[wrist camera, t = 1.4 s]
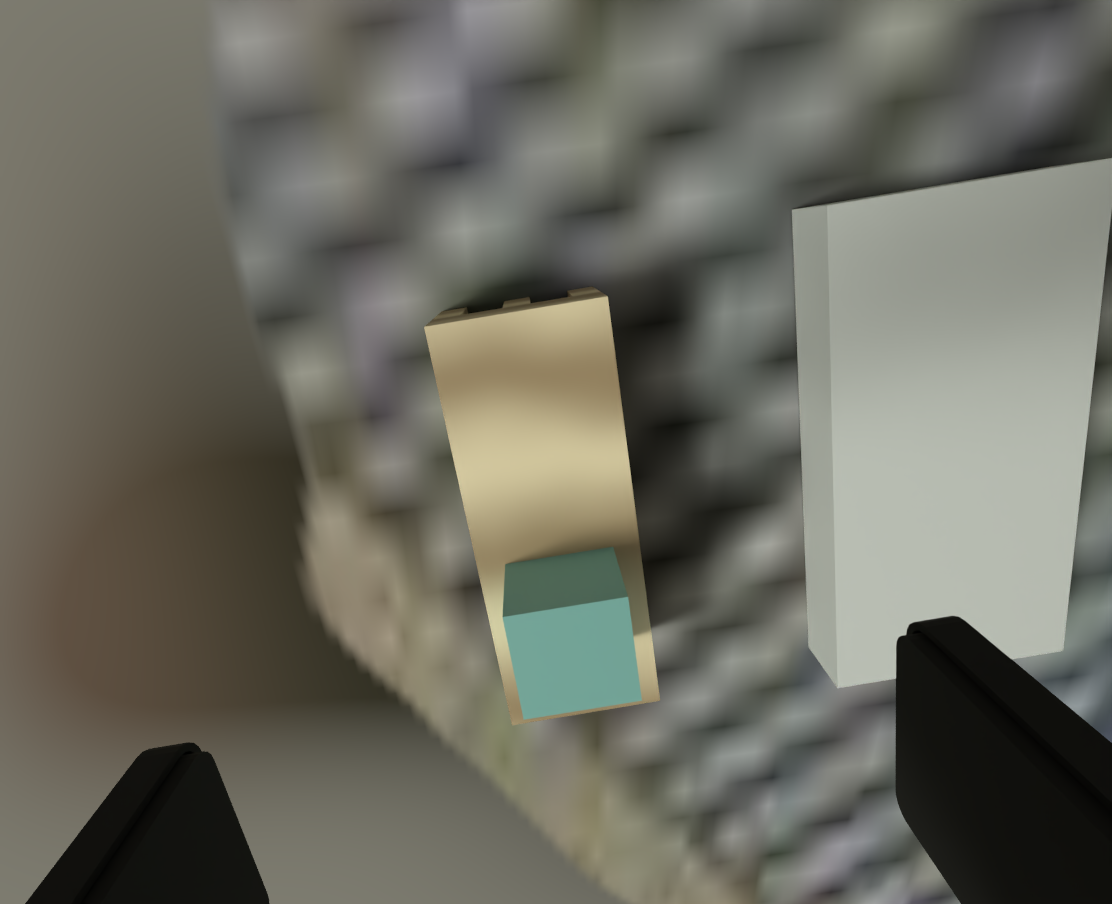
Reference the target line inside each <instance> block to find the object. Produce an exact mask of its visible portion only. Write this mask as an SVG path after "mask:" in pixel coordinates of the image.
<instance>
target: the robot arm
mask: <svg viewBox="0 0 1112 904" xmlns="http://www.w3.org/2000/svg"><path fill="white" fill-rule="evenodd" d="M896 797H897V801H898V804H899V807H900V810H901V812H902V814H903V817H904V819H905V820H906V822H907V824H908V825H909V827H910V828H911V830H912V831H913V833H914V834H915V836H916V837H917V839H918V840H919V842H920V843H921V845H922V846H923V848H924V849H925V851H926V852H927V854H928V855H929V857H930V858H931V860H932V861H933V862H934V864H935V865H936V867H937V868H938V870H939V871H940V873H941V874H942V876H943V877H944V879H945V880H946V882H947V883H948V885H949V886H950V888H951V889H952V891H953V892H954V894H955V895H956V897H957V898H958V900H959V901H960V903H961V904H1112V743H1111V742H1110V741H1108V740H1107V739H1106V738H1105V737H1104V736H1103V735H1101V734H1100V733H1099V732H1098V731H1097V730H1095V729H1094V728H1093V727H1092V726H1091V725H1089V724H1088V723H1087V722H1086V721H1085V720H1083V719H1082V718H1081V717H1080V716H1079V715H1077V714H1076V713H1075V712H1074V711H1073V710H1071V709H1070V708H1069V707H1068V706H1067V705H1065V704H1064V703H1063V702H1062V701H1061V700H1059V699H1058V698H1057V697H1056V696H1055V695H1053V694H1052V693H1051V692H1050V691H1049V690H1047V689H1046V688H1045V687H1044V686H1043V685H1041V684H1040V683H1039V682H1038V681H1037V680H1036V679H1034V678H1033V677H1032V676H1031V675H1030V674H1028V673H1027V672H1026V671H1025V670H1024V669H1022V668H1021V667H1020V666H1019V665H1018V664H1016V663H1015V662H1014V661H1013V660H1012V659H1010V658H1009V657H1008V656H1007V655H1006V654H1004V653H1003V652H1002V651H1001V650H1000V649H998V648H997V647H996V646H995V645H994V644H992V643H991V642H990V641H989V640H988V639H986V638H985V637H984V636H983V635H982V634H980V633H979V632H978V631H977V630H976V629H974V628H973V627H972V626H971V625H970V624H969V623H967V622H966V621H965V620H963V619H962V618H960V617H958V616H948V617H942V618H936V619H930V620H924V621H918V622H913V623H911V624H909V626H908V628H907V633H906V635H903V636H900V637H899V638H898V640H897V644H896ZM25 904H269V898H268V894H267V891H266V889H265V886H264V884H263V881H262V879H261V876H260V874H259V871H258V869H257V866H256V864H255V862H254V859H253V856H252V854H251V851H250V849H249V846H248V844H247V841H246V839H245V836H244V834H243V831H242V829H241V826H240V824H239V821H238V819H237V816H236V813H235V811H234V808H233V806H232V803H231V801H230V798H229V796H228V793H227V791H226V788H225V786H224V783H223V781H222V778H221V776H220V773H219V771H218V768H217V766H216V763H215V761H214V759H213V757H212V755H211V754H210V753H208V752H202V751H201V750H200V748H199V746H197V745H196V744H195V743H182V744H176V745H170V746H164V747H158V748H152V749H148V750H146V751H144V752H142V753H141V754H140V755H139V756H138V757H137V758H136V759H135V761H134V762H133V763H132V765H131V766H130V767H129V768H128V770H127V771H126V772H125V774H124V775H123V777H122V778H121V779H120V780H119V782H118V783H117V784H116V785H115V787H114V788H113V789H112V791H111V792H110V793H109V795H108V796H107V797H106V799H105V800H104V801H103V803H102V804H101V805H100V807H99V808H98V809H97V810H96V812H95V813H94V814H93V816H92V817H91V818H90V820H89V821H88V822H87V824H86V825H85V826H84V827H83V829H82V830H81V831H80V833H79V834H78V835H77V837H76V838H75V839H74V841H73V842H72V843H71V844H70V846H69V847H68V848H67V850H66V851H65V852H64V854H63V855H62V856H61V858H60V859H59V860H58V861H57V863H56V864H55V865H54V867H53V868H52V869H51V871H50V872H49V873H48V875H47V876H46V877H45V879H44V880H43V881H42V882H41V884H40V885H39V886H38V888H37V889H36V890H35V892H34V893H33V894H32V896H31V897H30V898H29V900H28V901H27V902H26V903H25Z"/></svg>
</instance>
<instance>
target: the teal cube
mask: <svg viewBox="0 0 1112 904" xmlns="http://www.w3.org/2000/svg"><path fill="white" fill-rule="evenodd" d="M502 617H503V622H504V627H505V632H506V637H507V642H508V646H509V651H510V656H511V661H512V666H513V671H514V675H515V680H516V685H517V690H518V695H519V700H520V704H521V709H522V714H523V719H524V720H525V719H532V718H538V717H544V716H550V715H556V714H562V713H569V712H575V711H581V710H587V709H593V708H600V707H606V706H612V705H618V704H624V703H630V702H637V701H642V697H641V690H640V682H639V675H638V667H637V660H636V652H635V645H634V637H633V630H632V622H631V615H630V607H629V600H628V595H627V592H626V588H625V585H624V582H623V578H622V575H621V572H620V568H619V565H618V562H617V558H616V555H615V552H614V548H613V547H608V548H602V549H596V550H590V551H583V552H577V553H571V554H565V555H559V556H552V557H546V558H540V559H534V560H528V561H522V562H515V563H509V564H505V577H504V596H503V616H502Z"/></svg>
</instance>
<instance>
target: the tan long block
mask: <svg viewBox="0 0 1112 904" xmlns="http://www.w3.org/2000/svg"><path fill="white" fill-rule="evenodd" d="M567 293H568V297H566V298H560V299H554V300H548V301H542V302H536V303H530V297H527V298H521V299H515V300H509V301H504V304H503V308H500V309H494V310H488V311H482V312H476V313H470V314H468V311H467V308H461V309H455V310H449V311H443V312H441V313H440V314H438V315H437V316H436V317H435V318H434V319H433V320H432V321H430V322H429V323H428V324H427V325H426V326H425V327H424V328H425V333H426V337H427V342H428V346H429V351H430V355H431V360H432V364H433V369H434V373H435V378H436V382H437V387H438V391H439V396H440V400H441V405H442V409H443V414H444V419H445V423H446V428H447V432H448V437H449V441H450V446H451V450H452V455H453V459H454V464H455V468H456V473H457V477H458V482H459V486H460V491H461V495H462V500H463V504H464V509H465V514H466V518H467V523H468V527H469V532H470V536H471V541H472V545H473V550H474V554H475V559H476V563H477V568H478V572H479V577H480V581H481V586H482V590H483V595H484V599H485V604H486V609H487V613H488V618H489V622H490V627H491V631H492V636H493V640H494V645H495V649H496V654H497V658H498V663H499V667H500V672H501V676H502V681H503V685H504V690H505V694H506V699H507V704H508V708H509V713H510V717H511V722H512V725H516V724H522V723H528V722H534V721H540V720H546V719H552V718H558V717H564V716H570V715H576V714H582V713H588V712H594V711H600V710H606V709H612V708H618V707H624V706H630V705H637V704H643V703H649V702H655V701H660V697H659V689H658V682H657V674H656V666H655V658H654V651H653V643H652V635H651V627H650V620H649V612H648V604H647V596H646V589H645V581H644V573H643V565H642V558H641V550H640V542H639V534H638V527H637V519H636V511H635V503H634V496H633V488H632V480H631V472H630V465H629V457H628V449H627V442H626V434H625V426H624V418H623V411H622V403H621V395H620V387H619V380H618V372H617V364H616V356H615V349H614V341H613V333H612V325H611V318H610V310H609V302H608V296H606V295H605V294H603V293H602V292H600V291H599V290H597V289H595V288H594V287H587V288H581V289H575V290H569V291H567ZM608 547H613V548H614V552H615V555H616V558H617V562H618V565H619V568H620V572H621V575H622V578H623V582H624V585H625V588H626V592H627V595H628V600H629V607H630V615H631V622H632V630H633V637H634V645H635V652H636V660H637V667H638V675H639V682H640V690H641V697H642V701H637V702H630V703H624V704H618V705H612V706H606V707H600V708H593V709H587V710H581V711H575V712H569V713H562V714H556V715H550V716H544V717H538V718H532V719H525V720H524V719H523V714H522V709H521V704H520V700H519V695H518V690H517V685H516V680H515V675H514V671H513V666H512V661H511V656H510V651H509V646H508V642H507V637H506V632H505V627H504V622H503V617H502V616H503V596H504V577H505V564H509V563H515V562H522V561H528V560H534V559H540V558H546V557H552V556H559V555H565V554H571V553H577V552H583V551H590V550H596V549H602V548H608Z"/></svg>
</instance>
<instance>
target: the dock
mask: <svg viewBox="0 0 1112 904" xmlns="http://www.w3.org/2000/svg"><path fill="white" fill-rule="evenodd" d="M1111 211H1112V158H1108V159H1101V160H1094V161H1087V162H1080V163H1073V164H1066V165H1059V166H1052V167H1045V168H1039V169H1033V170H1027V171H1021V172H1015V173H1009V174H1003V175H997V176H991V177H985V178H979V179H973V180H967V181H961V182H955V183H949V184H943V185H937V186H931V187H925V188H919V189H913V190H907V191H901V192H895V193H889V194H883V195H877V196H871V197H865V198H859V199H853V200H847V201H841V202H835V203H829V204H823V205H817V206H811V207H805V208H799V209H793V210H792V225H793V251H794V277H795V303H796V330H797V356H798V382H799V408H800V435H801V461H802V487H803V513H804V539H805V566H806V592H807V618H808V644H809V648H810V650H811V651H812V653H813V654H814V655H815V657H816V658H817V660H818V661H819V662H820V664H821V665H822V667H823V668H824V670H825V671H826V672H827V674H828V675H829V677H830V678H831V679H832V681H833V682H834V684H835V685H836V687H837V688H841V687H847V686H853V685H859V684H865V683H871V682H878V681H884V680H890V679H896V644H897V640H898V638H899V637H900V636H903V635H906V633H907V628H908V626H909V624H911V623H913V622H918V621H924V620H930V619H936V618H942V617H948V616H958V617H960V618H962V619H963V620H965V621H966V622H967V623H969V624H970V625H971V626H972V627H973V628H974V629H976V630H977V631H978V632H979V633H980V634H982V635H983V636H984V637H985V638H986V639H988V640H989V641H990V642H991V643H992V644H994V645H995V646H996V647H997V648H998V649H1000V650H1001V651H1002V652H1003V653H1004V654H1006V655H1007V656H1008V657H1009V658H1010V659H1016V658H1022V657H1028V656H1034V655H1040V654H1046V653H1052V652H1059V651H1063V646H1064V637H1065V628H1066V619H1067V610H1068V601H1069V592H1070V583H1071V574H1072V565H1073V556H1074V546H1075V537H1076V528H1077V519H1078V510H1079V501H1080V492H1081V483H1082V474H1083V465H1084V456H1085V447H1086V438H1087V429H1088V420H1089V411H1090V401H1091V392H1092V383H1093V374H1094V365H1095V356H1096V347H1097V338H1098V329H1099V320H1100V311H1101V302H1102V293H1103V284H1104V275H1105V266H1106V256H1107V247H1108V238H1109V229H1110V220H1111Z"/></svg>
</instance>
